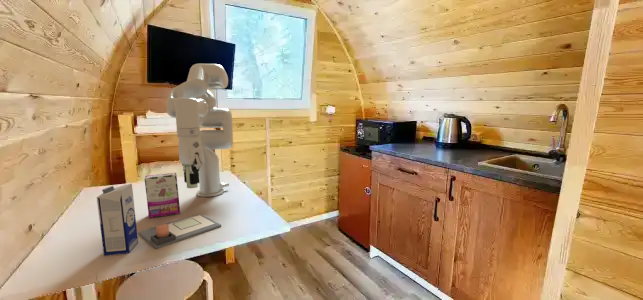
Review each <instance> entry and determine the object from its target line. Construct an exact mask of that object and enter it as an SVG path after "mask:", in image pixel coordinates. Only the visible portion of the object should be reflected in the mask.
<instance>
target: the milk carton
mask: <svg viewBox="0 0 643 300" xmlns="http://www.w3.org/2000/svg"><path fill="white" fill-rule="evenodd" d="M96 204H97V212H98V220H99V226H100V234H101V243H102V250H103V251H102V252H103V256H110V255H111V256H113V255H122V254H124V255H125V254H130V253H131V252H132V250H133V249H134V248H136V246H137V245H138V244H139V240H138V239H139V238H138V229H137V220H136V211H135V201H134V190H133V183H129V184H123V185H120V186H118V187H117V186H116V187H114V186H113V185H111V186H109V187H106V188H103V189H102V193H101V194H99V195H98V196H96Z"/></svg>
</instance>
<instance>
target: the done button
mask: <svg viewBox="0 0 643 300" xmlns="http://www.w3.org/2000/svg"><path fill="white" fill-rule="evenodd" d="M155 227H156V226H155ZM156 234H157V237H159V238H162V237H166V236H168V235H169V225H168V224H167V223H161V224H159V225H158V224H157V227H156Z"/></svg>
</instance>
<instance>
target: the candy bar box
mask: <svg viewBox="0 0 643 300" xmlns="http://www.w3.org/2000/svg"><path fill="white" fill-rule="evenodd" d="M177 177H178V175H177V172H169V173H167V172H166V173H160V174H158V173H157V174H151V175H145V177H144V185H145V193H146V203H147V212H148V219H155V218H161V217H167V216H172V215H173V216H174V215H179V214H181V208H180V198H179V196H180V195H179V188H178V187H179V185H178V178H177Z"/></svg>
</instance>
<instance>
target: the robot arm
mask: <svg viewBox="0 0 643 300" xmlns="http://www.w3.org/2000/svg"><path fill="white" fill-rule="evenodd" d="M228 85H229V77H228V74H227V72H226V70H225V68H224V67H223V66H222V65H221V64H217V63H195V64H192V66H191V67H190V68H189V72H188V75H187V78H186V81H184V82H182V83H180V84H179V85H177V86H175V87H174V88H173V89H172V90H171V91H170V92H169V94H168V97H167V100H166V104H165V105H166V109H165V110H166V112H167V114H168V116H169V117H171V118H173V119H175V122H176V123H175V125H176V126H175V127H176V137H177V138H178V148H177V149H178V158H179V162H180V163H181V165H182V167H183V168H182V171H183V179H184V183H185V184H187V181H186V167H185V164H187V165H189V166H190V173H191V174H189V175H190V184H191V185H193V184H198V185H199V189H198V190H197V192H196V195H197V196H198V197H202V198H206V197H207V198H210V197H211V198H212V197H215V196H217V197H218V196H220V195H222V194H223V193H224V191H225V190H224V188H225V187H229V186H230V183H229V182H225V183H224V182H221V178H220V177H221V176H220V175H221V173H220V160H219V159H220V158H219V157H218V154H216V153H215V150H229V149H231V148H232V147H233V144H234V143H233V142H234V133H233V131H234V130H233V128H234V127H233V126H234V125H233V114H232V111H231V110H230V109H228V108H224V107H222V108H221V107H217V99H216V97H215V96H214V94H213V92H211V90H209V89H214V90H215V89H216V90H217V89H219V90H222V89H223V90H224V89H226V88H227V87H228ZM201 127H202V128H205V129H202V130H201ZM206 128H213V129H206ZM214 128H217V129H214ZM218 128H221V129H218ZM194 163H196V164H194ZM193 166H195V167H194V168H193Z"/></svg>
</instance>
